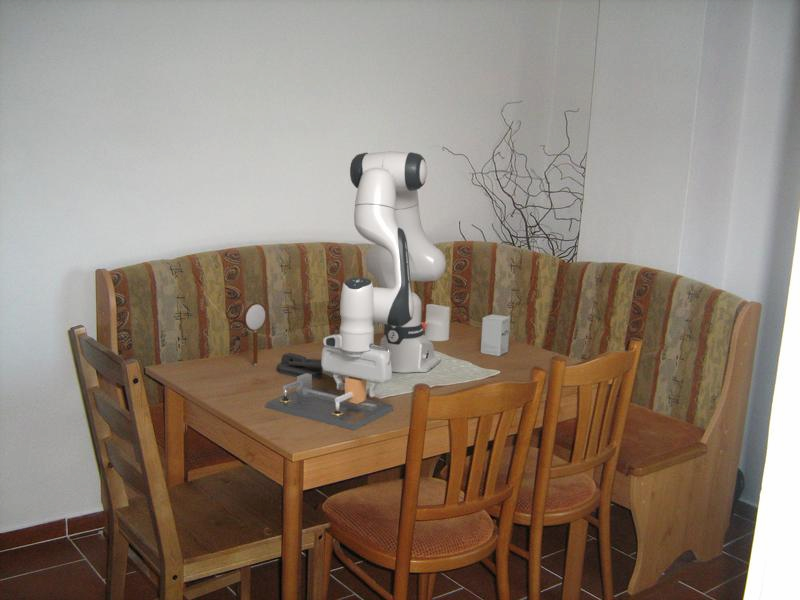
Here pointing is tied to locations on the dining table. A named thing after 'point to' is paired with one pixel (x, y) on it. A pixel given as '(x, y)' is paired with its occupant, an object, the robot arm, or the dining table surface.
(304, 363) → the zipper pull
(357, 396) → the leg
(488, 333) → the supplement box
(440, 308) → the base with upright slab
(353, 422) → the plate
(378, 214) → the robot arm
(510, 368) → the dining table surface
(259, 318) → the magnifying glass
